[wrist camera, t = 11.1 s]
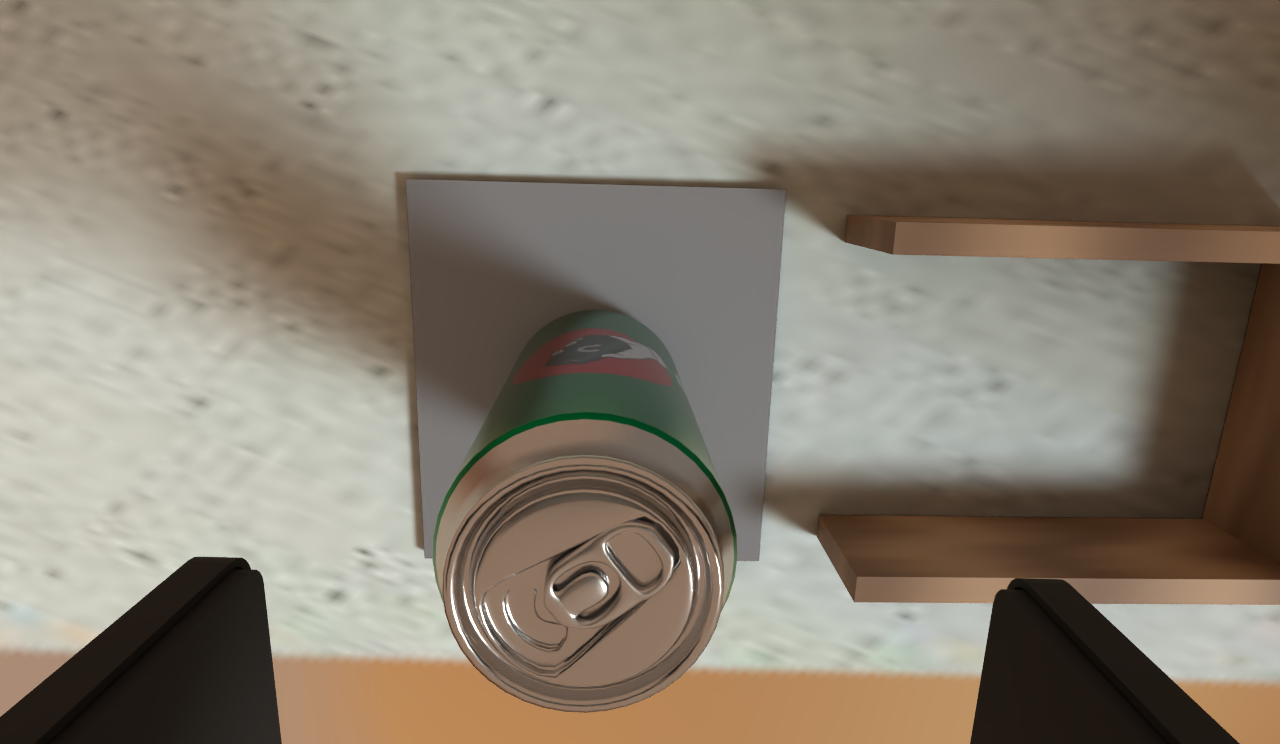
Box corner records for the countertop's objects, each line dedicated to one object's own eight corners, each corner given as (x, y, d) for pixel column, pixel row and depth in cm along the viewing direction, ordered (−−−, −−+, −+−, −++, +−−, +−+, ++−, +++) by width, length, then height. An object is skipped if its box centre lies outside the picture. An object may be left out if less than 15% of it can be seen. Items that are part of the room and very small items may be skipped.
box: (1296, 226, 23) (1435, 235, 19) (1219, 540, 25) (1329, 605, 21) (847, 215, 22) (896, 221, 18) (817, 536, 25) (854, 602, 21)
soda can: (479, 369, 23) (345, 562, 11) (614, 273, 22) (622, 366, 10) (578, 493, 24) (551, 788, 12) (708, 404, 23) (812, 622, 11)
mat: (783, 189, 22) (785, 189, 22) (756, 555, 25) (758, 560, 25) (409, 179, 22) (405, 179, 21) (427, 552, 24) (424, 558, 24)
